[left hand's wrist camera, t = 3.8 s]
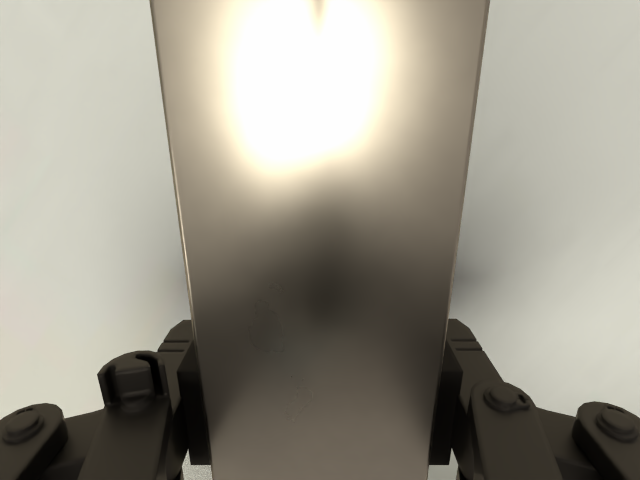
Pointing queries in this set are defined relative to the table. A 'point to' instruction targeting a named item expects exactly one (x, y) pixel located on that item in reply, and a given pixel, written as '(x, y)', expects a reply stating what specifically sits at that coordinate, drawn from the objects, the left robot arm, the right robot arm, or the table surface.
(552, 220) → the table surface
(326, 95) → the bar
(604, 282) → the table surface
